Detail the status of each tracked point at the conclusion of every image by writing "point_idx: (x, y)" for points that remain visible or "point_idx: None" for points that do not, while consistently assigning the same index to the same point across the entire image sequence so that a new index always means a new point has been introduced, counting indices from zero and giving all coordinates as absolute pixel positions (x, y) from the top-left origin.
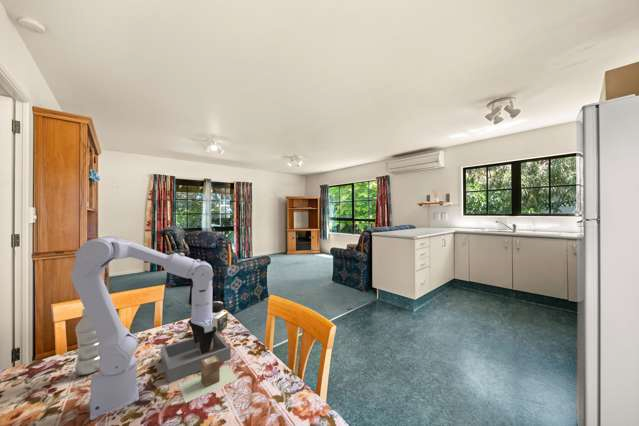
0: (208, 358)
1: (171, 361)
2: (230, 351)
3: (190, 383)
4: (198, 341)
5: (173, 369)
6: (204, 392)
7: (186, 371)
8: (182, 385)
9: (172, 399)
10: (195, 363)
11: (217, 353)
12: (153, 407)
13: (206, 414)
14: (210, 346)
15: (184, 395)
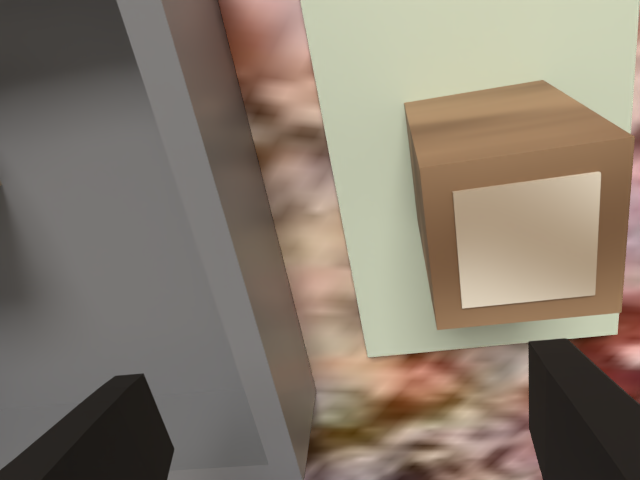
0: (462, 259)
1: (35, 379)
2: None
3: (405, 292)
4: (157, 431)
5: (299, 451)
6: None
7: (286, 333)
8: (395, 337)
9: (484, 379)
10: (260, 294)
11: (191, 77)
12: (487, 454)
13: None
14: (609, 380)
15: (528, 334)
